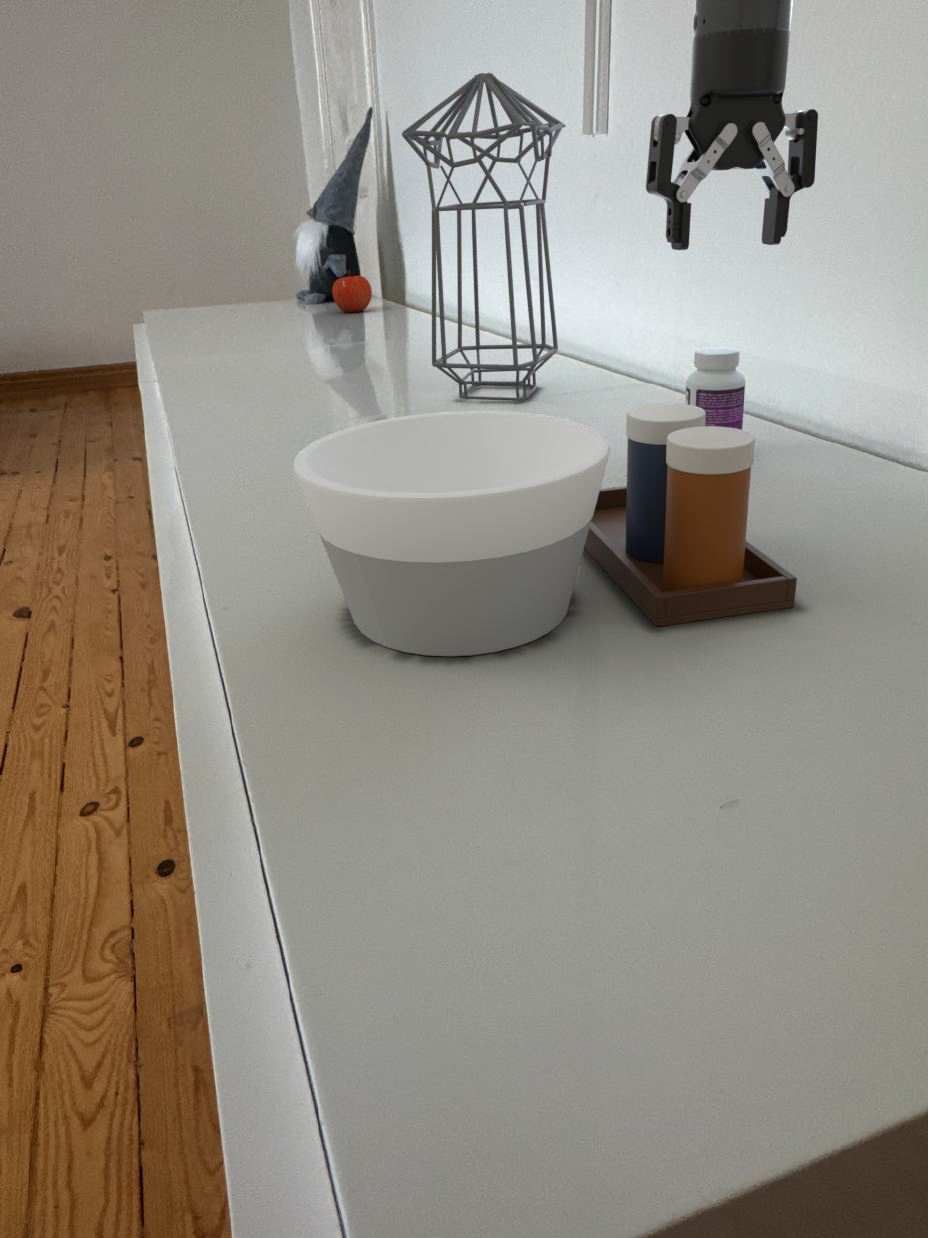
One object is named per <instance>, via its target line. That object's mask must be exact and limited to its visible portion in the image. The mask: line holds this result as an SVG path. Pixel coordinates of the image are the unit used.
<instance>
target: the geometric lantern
mask: <svg viewBox="0 0 928 1238" xmlns="http://www.w3.org/2000/svg"><path fill="white" fill-rule="evenodd" d="M484 85H485V89H486V95H487V100H488V103H489V109H490V110H489V111H490V114H491V119H492V125H493V127H491V128H487V129H483V130H478V125H479V119H480V112H481V106H482V98H483V92H484ZM493 95H494V96H495V98H496V99H497V100H498V102H499V105H500V106H501V107H502V110H504V112H505V114H506V116H507V118H508V119H509V121H510V123H508V124H505V125H500V126H499V123H498V117H497V111H496V108H495V102H494V97H493ZM475 97H476V100H475V107H474V113H473V120H472V126H471V131H459V129H460V128H461V126H462V123H463V121H464V119H465V117H466V115H467V113H468V111H469V109H470V107H471V105H472V103H473V101H474V99H475ZM451 102H453V103H452V104H451V106H450V107H449V108H448V109H447V110H446V112H445V113H444V114H443V115H442V116H441V117H440V118H439V119H438V121H437V122H436V123H435V124H434V125H433V126H432V128H431V129H430V130H418V129H419V128H420V127H422V125H424V124H425V123H427V121H429V120H430V119H431V118H432V117H434V116H435V115H436V114H437V113H439V112H440V111H441V110H443V109H445V107H446V106H448V105H449V104H450V103H451ZM533 112H534V113H535V114H536V115H538V116H539V117H540V118H541V119H543V120H544V121H545V122H546V123H543V121H541V120H540V119H539V118H538V117H537V116H536V115H535V114H534V113H533ZM443 124H444V125H443ZM451 124H452V125H451ZM442 125H443V126H442ZM450 126H451V127H450ZM523 126H524V127H525V128H522V127H523ZM440 127H441V129H440V130H439V128H440ZM449 127H450V129H449ZM565 127H566V124H565V123H563V121H561V120H559V119H558V118H556V117H554V116H553V115H551V114H550V113H548V112H547V111H545V110H544V109H543V108H541V107H540V106H538V105H537V104H535V103H533V102H532V101H530V100H529V99H528V98H526V97H524V96H523V95H522V94H520V93H519V92H517V91H515V89H513V88H511V87H510V86H508V85H507V84H505V82H502V81H501V80H500V79H498V78H497V77H496V75H494V74H493V73H492V72H487V73H484V72H480V73H477V74H475V75H474V76H473V77H472V78H470V79H469V80H468V81H467V82H466V83H464V84H463V85H462V86H461V87H459V88H458V89H456V90H455V91H454V92H453V93H452V94H451V95H449V96H448V97H446V98H445V99H444V100H443V101H441V102H440V103H438V104H437V105H436V106H435V107H433V108H432V109H431V110H429V111H428V112H427V113H425V114H424V115H423V116H421V117H420V118H419V119H417V120H416V121H414V123H412V124H411V125H409V126H408V127H407V128H405V130H403V131H402V133H401V137H402V138H403V139H404V140H405V141H406V143H407V144H408V145H409V146H410V147H411V149H412V150H413V151H414V152H415V153H416V154H417V156H418V157H419V158H420V159H421V161H422V162H423V163H424V165H425V166H426V172H427V180H428V189H429V196H430V204H431V365H432V367H434V368H437V369H438V370H439V371H440V372H442V373H444V375H446V376H448V377H449V378H450V379H451V380H453V381H454V382H455V383H457V384H458V391H459V392H458V394H459V396H458V397H459V399H462V400H477V401H479V400H480V401H481V400H483V401H511V402H521V401H524V400H528V398H529V397H531V395H532V394H533V393H534V392H535V391H536V390H537V389H538V385H537V380H536V373H537V371H538V370H539V369H540V368H541V367H543V365H545V363H547V362H548V361H549V360H550V359H551V358H552V357H553V356H554V355H555V354H556V353H557V352H558V351H559V344H558V343H559V342H558V335H557V334H558V332H557V323H556V311H555V301H554V291H553V281H552V270H551V259H550V250H549V239H548V228H547V218H546V208H545V204H546V203H547V191H548V181H549V171H550V161H551V157H552V155H553V147H554V145H555V143H556V142H557V139H558V137H559V136H560V133H561V132H562V130H563V128H565ZM448 129H449V131H448V132H447V130H448ZM437 130H439V131H437ZM446 132H447V133H446ZM503 132H505V133H503ZM527 133H531V140H532V141H531V142H530V143H529V144H528V145H527V146H526V147H525V148H524V149H523V144H524V135H525V134H527ZM546 136H548V144H547V146H546V148H545V137H546ZM518 137H519V145H518V155H516V156H515V157H503V156H502V157H501V156H500V155H501V146H502V144H503V143H504V142H505V141H506V140H507V139H512V138H518ZM431 138H433V139H432V140H431ZM444 138H445V141H446V142H445V143H446V147H447V151H448V157H449V158H448V157H446V156H445V155H444V154H442V150H443V149H442V147H443V142H444V141H443V139H444ZM476 139H482V140H495V141H494V142H493V143H491V144H490V145H488V147H487V148H485V149H484V148H482V147H481V146H480V145H477V144H476V142H475V140H476ZM451 140H458V141H460V142H461V143H463V144H465V145H467V146H468V147H470V148H471V151H472V155H473V158H467V159H464V160H459V161H454V156H453V155H454V154H453V150H452V145H451V142H450V141H451ZM415 142H416V143H417V144H416V143H415ZM539 142H540V149H539ZM418 145H420V146H421V147H422V150H421V149H420V148H419V146H418ZM495 149H496V155H494V154H492V152H493V151H494V150H495ZM532 149H533V154H534V155H533V156H534V162H533V164H532V167H531V169H530V172H529V174H528V175H527V173H526V171H525V169H524V167H523V166H522V163H521V162H522V158H524V156H526V155H527V154H528V153H529V152H530V151H531V150H532ZM428 152H429V153H431V154H432V155H433V161H430V160H429V159H428ZM477 152H478V153H479V154H478V153H477ZM485 157H486V158H488V159H489V160H491V163H490V165H489V167H488V168H487V166H486V164H485V163H484V161H483V159H484V158H485ZM441 161H442V162H443V163H444V164H445V165H447V166H449V167H450V170H449V173H447V171H446V169H445V167H444V166H443V165H441ZM541 161H545V162H544V171H543V182H542V193H541V198H539V196H538V194H537V192H536V190H535V188H534V186H533V184H532V182H531V180H532V177H533V174H534V171H535V169H536V167H537V164H538V163H539V162H541ZM497 163H509V164H517V165H518V167H519V170H520V171H521V173H522V175H523V176H524V178H525V180H526V182H525V185H524V186H523V190H522V192H521V195H520V197H519V199H515V200H514V199H512V200H507V198H506V197H505V195H504V194H503V192H502V190H501V188H500V187H499V185H498V184H497V182H496V181H495V179H494V178H493V175H492V172H493V170H494V168H495V166H496V164H497ZM474 164H478V165H479V166H480V169H481V170H482V171H483V173H484V177H483V180H482V181H481V183H480V185H479V187H478V189H477V192H476V194H475V196H474V198H473V199H472V202H463V201H462V200H461V197H460V196H459V194H458V192H457V190H456V188H455V187H454V185H453V183H452V181H451V177H452V175H453V173H454V170H455V168H460V167H465V166H469V165H474ZM432 169H436V170H439V169H441V171H442V173H443V175H444V177H445V179H446V180H445V183H444V185H443V188H442V190H441V193H440V196H439V199H438V201H437V203H436V197H435V189H434V181H433V173H432ZM488 181H489V183H490V184H491V186H492V188H493V189H494V191H495V193H496V194H497V196H498V197H499V199H500V200H499V201H498V200H497V201H484V202H483V201H482V202H478V200H479V198H480V196H481V194H482V192H483V190H484V188H485V186H486V184H487V182H488ZM448 185H449V186H450V188H451V190H452V192H453V193H454V195H455V197H456V199H457V201H458V203H454V204H448V205H442V206H441V203H442V201H443V198H444V196H445V193H446V190H447V188H448ZM528 187H529V188H530V190H531V192H532V194H533V196H534V198H527V199H524V197H525V194H526V192H527V189H528ZM534 205H535V219H536V222H535V223H536V243H537V246H536V247H537V265H538V284H539V285H538V288H539V289H538V290H539V314H540V336H541V337H540V340H541V343H537V339H536V330H535V329H536V328H535V318H534V317H535V316H534V306H533V296H532V284H531V283H532V282H531V273H530V262H529V261H530V260H529V252H528V240H527V230H526V217H525V207H529V206H534ZM497 209H498V210H499V209H503V222H504V223H503V224H504V240H505V254H506V255H505V256H506V270H507V271H506V272H507V286H508V302H509V315H510V316H509V317H510V332H511V333H510V334H511V344H481V335H480V329H481V328H480V305H479V304H480V303H479V301H480V300H479V299H480V298H479V275H478V273H479V272H478V244H477V243H478V241H477V217H476V216H477V215H476V213H477V212H476V210H497ZM509 210H518V214H519V225H520V238H521V248H522V256H523V257H522V259H523V269H524V279H525V288H526V289H525V291H526V301H527V313H528V322H529V335H530V343H522V344H521V343H519V344H518V342H517V341H518V340H517V326H516V325H517V324H516V311H515V310H516V309H515V293H514V280H513V277H514V276H513V263H512V247H511V233H510V232H511V231H510V221H509V220H510V219H509ZM455 211H456V257H457V258H456V262H457V263H456V264H457V265H456V266H457V267H456V268H457V272H456V273H457V275H456V277H457V347H456V348H455V349H453V350H452V351H450V352H447V343H446V342H447V341H446V323H445V322H446V321H445V302H444V282H443V280H444V279H443V263H442V244H441V243H442V242H441V240H442V239H441V224H440V223H441V221H440V212H455ZM462 211H471V241H472V243H471V245H472V272H473V273H472V275H473V299H474V301H473V303H474V330H475V332H474V333H475V345H464V346H463V265H462V263H463V261H462V260H463V259H462V258H463V255H462V253H463V251H462V249H463V248H462V246H463V245H462V243H463V241H462ZM543 250H544V261H543ZM543 262H545V272H546V282H547V283H546V284H547V292H548V303H549V304H548V305H549V312H550V323H551V333H552V345H551V344H547V340H546V339H547V338H546V337H547V335H546V313H545V312H546V310H545V308H546V307H545V287H544V263H543ZM437 289H438V290H437ZM437 291H438V307H439V309H438V310H439V329H440V345H441V346H440V347H441V357H439V358H437ZM521 349H522V350H523V349H524V350H527V349H528V350H529V349H531V351H532V352H531V353H532V360H531V361H527V362H523V363H520V364H519V357H518V356H519V355H518V350H521ZM537 349H539V350H537ZM545 349H546V350H549V351H547V352H546V353H544V354H543V355H542V353H543V352H544V350H545ZM480 350H512V359H513V360H512V361H513V364H498V363H497V364H491V363H490V364H489V363H481V357H480V356H481V355H480ZM464 351H476V363H471V362H470V360H469V359H468V357H467V355H466V353H465V352H464ZM458 353H460V354H461V356H462V358H463V360H464V361H465V362H466V363H448V359H450V358H451V357H453V356H455V355H456V354H458ZM446 369H447V370H448V371H447V370H446ZM454 369H467V370H468V369H470V371H469V372H468V373H467V374H465V375H464V376H463V377H462V378H461V376H459V374H457V372H456V371H454ZM525 371H527V373H526V374H525V375H524V377H523V378H522V380H520V372H525ZM497 372H499V373H501V372H515V381H509V380H508V381H505V380H502V381H500V380H499V381H497V380H496V381H495V380H494V381H493V380H491V381H490V380H482V373H497ZM475 373H478V375H477V377H478V378H477V380H475ZM469 377H470V379H471V380H467V379H468V378H469ZM531 377H532V384H531ZM467 385H470V386H469V387H468V386H467ZM477 387H512V388H513V387H515V397H508V396H507V397H504V396H474V395H468V393H469V392H470V391H471V390H472V389H474V388H477ZM521 387H522V396H521V397H520V388H521ZM527 388H531V389H530V390H529V392H528V393H527Z"/></svg>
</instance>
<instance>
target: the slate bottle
mask: <svg viewBox="0 0 928 1238" xmlns="http://www.w3.org/2000/svg"><path fill="white" fill-rule="evenodd" d="M705 415H706V413H705V410H704V409H702V408H700V407H697V406H693V405H688V404H685V403H678V402H659V403H658V402H657V403H656V402H655V403H648V404H647V403H646V404H642V405H638V406H635V407H631V408H630V409H628V410H627V412H626V427H625V428H626V431H625V434H626V437H627V450H626V453H627V455H626V486H627V501H626V552H627V554H628V555H629V556H631V557H633V558H635V559H638V560H641V561H645V562H651V563H664V545H665V519H666V492H667V466H668V465H667V463H666V448H667V436H668V435H669V434H670V433H672V432H674V431H677V430H680V429H685V428H691V427H703V426H705Z"/></svg>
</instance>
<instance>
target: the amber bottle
mask: <svg viewBox="0 0 928 1238" xmlns="http://www.w3.org/2000/svg"><path fill="white" fill-rule="evenodd" d="M755 444H756V437H755V435H754V434H753V433H751V432H749V431H746V430H744V429H742V430H740V429H736V428H729V427H717V426H703V427H691V428H685V429H680V430H677V431H674V432H672V433H670V434H669V435H668V436H667V448H666V463H667V465H668V466H667V492H666V519H665V545H664V572H663V588H664V590H665V592H671V591H679V590H686V589H693V588H701V587H708V586H715V585H722V584H730V583H737V582H742V581H743V568H744V555H745V542H746V541H747V528H748V516H749V515H748V514H749V502H750V489H751V475H752V466H753V464H754V459H755V458H754V457H755Z"/></svg>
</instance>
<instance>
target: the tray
mask: <svg viewBox="0 0 928 1238" xmlns="http://www.w3.org/2000/svg"><path fill="white" fill-rule="evenodd" d="M626 501H627V485H623V486H617V487H608V488H600V491H599V495H598V499H597V503H596V506H595V510H594V514H593V517H592V519H591V523H590V527H589V530H588V534H587V538H586V542H585V546H584V549H585V550H586V551H587V553H589V555H590V556H591V557H592V559H594V560H595V561H596V562H597V563H598V565H600V567H601V568H602V569H603V570H604V571H605V572H606V574H608V576H609V577H610V578H611V579H612V580H613V581H614V582H615V583H616V584H617V585H618V587H619V588H620V589H621V590H622V591H623V592H624V593H625V594H626V595H627V597H629V599H630V600H631V601H632V602H633V603H634V604H635V605H636V606H637V607H638V609H639V610H640V611H641V612H642V613H643V614H644V615H645V616H646V617H647V618H648V619H649V620H650V622H651V623H652V624H653V625H654V626H655V627H663V626H670V625H677V624H685V623H693V622H699V621H705V620H713V619H718V618H726V617H734V616H740V615H746V614H755V613H760V612H761V613H763V612H768V611H774V610H782V609H783V610H784V609H789V608H794V607H795V599H796V591H797V583H798V578H797V577H796V576H794V575H793V574H792V573H791V572H789V571H788V570H786V569H785V568H783V567H782V566H781V565H780V564H778V563H777V562H776V561H774V560H773V559H771V558H770V557H769V556H767V554H764V553H763V552H762V551H760V550H759V549H758V548H756V547H755V546H753V545H752V544H751V543H749V541H747V540H746V542H745V555H744V568H743V581H742V582H737V583H730V584H722V585H715V586H708V587H701V588H693V589H686V590H679V591H671V592H665V590H664V588H663V572H664V563H651V562H645V561H641V560H638V559H635V558H633V557H631V556H629V555H628V554H627V552H626Z"/></svg>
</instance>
